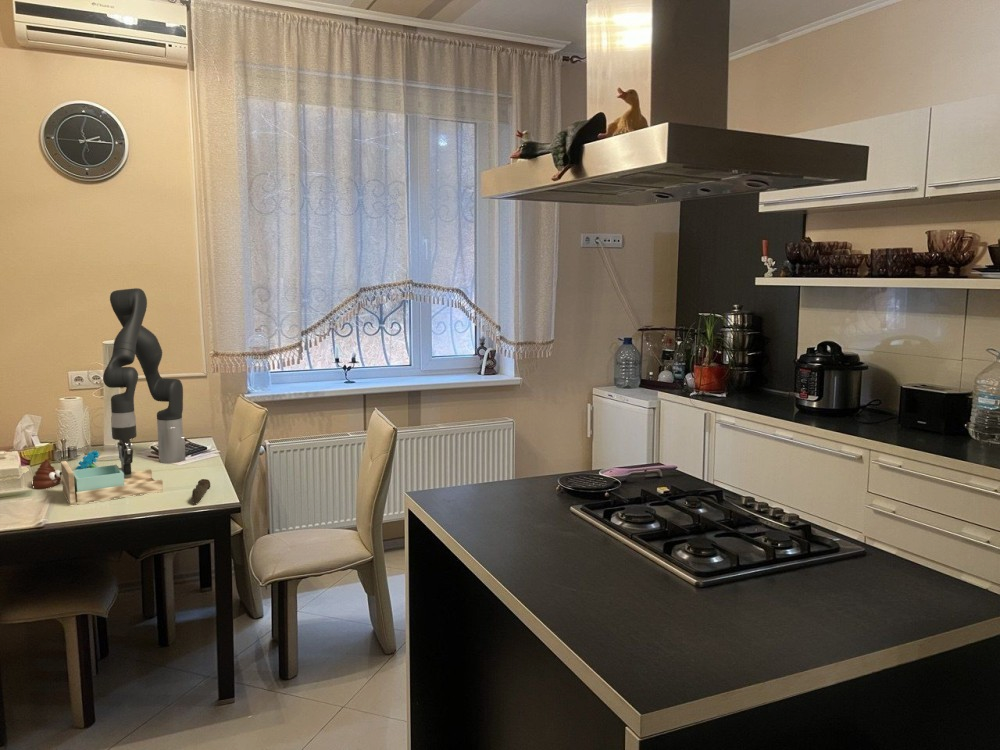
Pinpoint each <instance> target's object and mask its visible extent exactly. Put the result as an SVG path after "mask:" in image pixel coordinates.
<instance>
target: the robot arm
mask: <svg viewBox="0 0 1000 750" xmlns="http://www.w3.org/2000/svg"><path fill="white" fill-rule="evenodd" d="M109 301H110V304H111V305H110V306H111V308H112V311H113V312H114V314H115V316H116V318H117V319H118V321H119V322H120V325H121V326H122V328H121V329H120V331H119V332H118V333H117V335H116V336H115V338H114V341H113V347H112V354H111V358H110V360H109V362H108V364H107V366H106V367H105V368H104V369H105V370H104V371H103V376H102V379H103V380H102V381H103V383H104V385H105V386H106V387H107V388H111V389H112V388H113V389H115V388H119V389H120V388H125V391H124V392H122V393H121V392H120V393H117V394H114V395H112V396H111V398H110V407H111V408H110V409H111V410H110V411H111V416H110V418H111V419H110V423H111V437H112V439H113V440H115V441H118V442H117V443H116V444H117V449H118V458H119V461H120V462H121V458H123V466H124V474H125V475H129V474H131V472H132V463H133V457H134V455H133V454H134V453H133V452H134V449H133V443H131V439H132V440H133V439H135V438H136V437H137V436H138V435H137V420H136V414H135V393H136V392H135V391H136V387H137V384H138V381H139V372H138V370H137V369H136V368H135V367H134V366H129V365H132V364H133V363H134V361H135V358H137V359H136V360H138V363H139V365H140V367H141V369H142V372H143V375H144V377H145V380H146V384H147V387H148V390H149V393H150V395H151V397H152V399H154V401H156V402H163V403H164V402H165V403H166V402H167V403H168V406H167V407H166V408H165V409H161V410H159V411H157V412H156V424H157V425H156V426H157V446H158V447H157V449H158V462H159V463H164V464H173V463H179V462H182V460H183V461H186V444H185V443H186V441H185V440H186V439H185V438H186V437H185V436H184V430H183V429H184V428H183V427H184V426H183V410H184V386H183V382H182V381H181V380H180V379H179V378H162V377H161V375H160V372H159V366H160V363H161V361H162V358H163V349H162V347H161V345H160V342H159V339H158V338H157V336H156V335H155V334H154V333H153V332H152V331H150V329H148V328H146V327H145V326H144V325H143V321H144V319H145V315H146V311H147V307H148V299H147V296H146V293H145V291H144V290H143V289H141V288H137V287H135V288H126V289H119V290H118V289H116V290H113V291H112V292H110V295H109ZM127 458H129V460H126V459H127Z"/></svg>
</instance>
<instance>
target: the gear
mask: <svg viewBox="0 0 1000 750" xmlns="http://www.w3.org/2000/svg"><path fill="white" fill-rule="evenodd" d="M99 457H100V454H99V451H98V450H92V451H90V452H88V453H87V454H86V455H84V456H83V457H82V461H81V460H80V461H78V463H77V464H78V465H77V466H76V468H75V470H80V469H87V468H95V467H98V466H97V465H96V464H95V463H96V462H98V459H97V458H99Z"/></svg>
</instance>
